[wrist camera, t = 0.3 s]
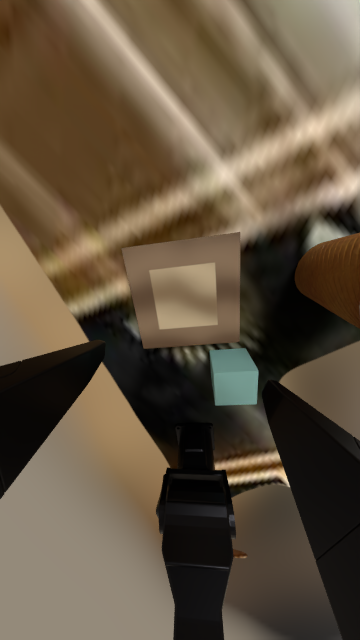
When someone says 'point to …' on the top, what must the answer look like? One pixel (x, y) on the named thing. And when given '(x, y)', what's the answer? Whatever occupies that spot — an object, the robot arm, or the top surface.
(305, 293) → the disposable coffee cup
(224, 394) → the teal cube
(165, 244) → the walnut base
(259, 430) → the top surface
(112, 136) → the top surface
